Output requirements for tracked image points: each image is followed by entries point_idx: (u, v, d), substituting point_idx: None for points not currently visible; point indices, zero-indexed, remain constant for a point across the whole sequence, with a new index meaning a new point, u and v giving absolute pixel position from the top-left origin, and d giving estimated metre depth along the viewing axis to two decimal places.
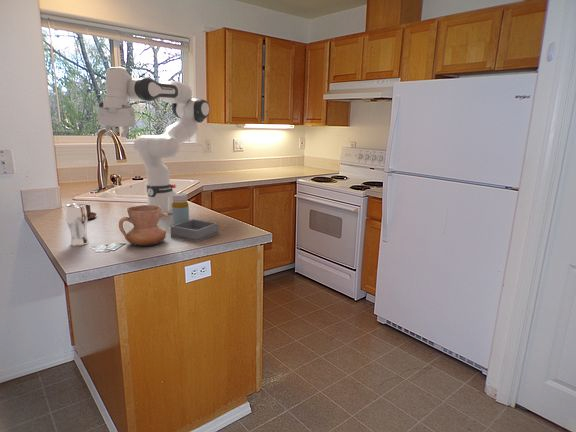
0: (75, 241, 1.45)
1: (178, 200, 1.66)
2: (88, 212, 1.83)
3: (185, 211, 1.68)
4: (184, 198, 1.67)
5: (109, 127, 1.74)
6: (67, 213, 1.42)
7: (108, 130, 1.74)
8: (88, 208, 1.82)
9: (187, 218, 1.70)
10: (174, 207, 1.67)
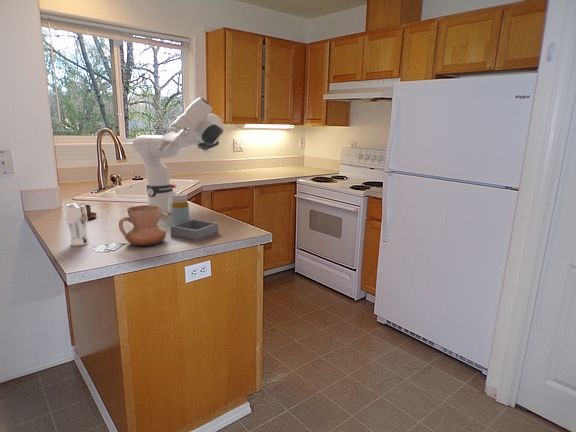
0: (75, 241, 1.45)
1: (178, 200, 1.66)
2: (88, 212, 1.83)
3: (185, 211, 1.68)
4: (184, 198, 1.67)
5: (165, 144, 1.70)
6: (67, 213, 1.42)
7: (162, 146, 1.70)
8: (88, 208, 1.82)
9: (187, 218, 1.70)
10: (174, 207, 1.67)
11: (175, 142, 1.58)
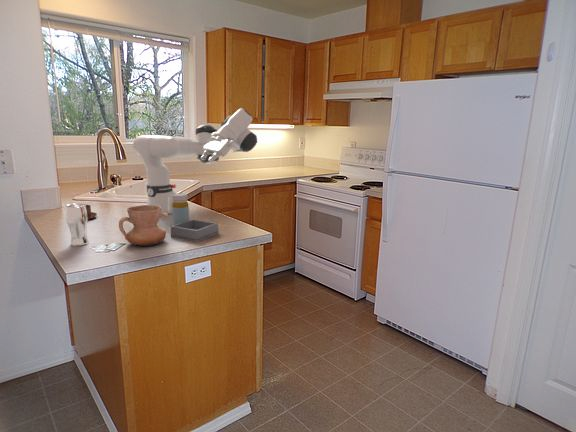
0: (75, 241, 1.45)
1: (178, 200, 1.66)
2: (88, 212, 1.83)
3: (185, 211, 1.68)
4: (184, 198, 1.67)
5: (207, 153, 1.77)
6: (67, 213, 1.42)
7: (205, 154, 1.76)
8: (88, 208, 1.82)
9: (187, 218, 1.70)
10: (174, 207, 1.67)
11: (220, 152, 1.64)
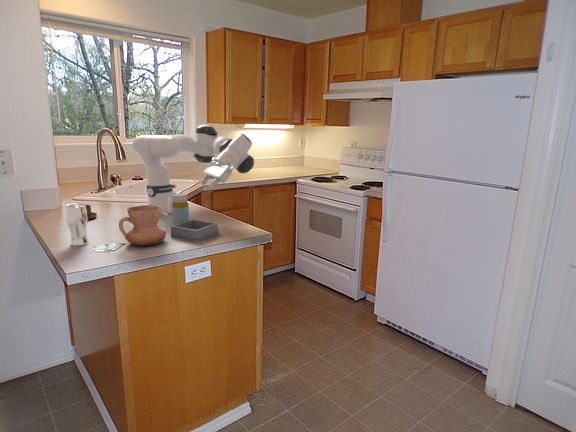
0: (75, 241, 1.45)
1: (178, 200, 1.66)
2: (89, 212, 1.83)
3: (185, 211, 1.68)
4: (184, 198, 1.67)
5: (208, 178, 1.79)
6: (67, 213, 1.42)
7: (205, 179, 1.79)
8: (89, 208, 1.82)
9: (187, 218, 1.70)
10: (174, 207, 1.67)
11: (220, 178, 1.66)
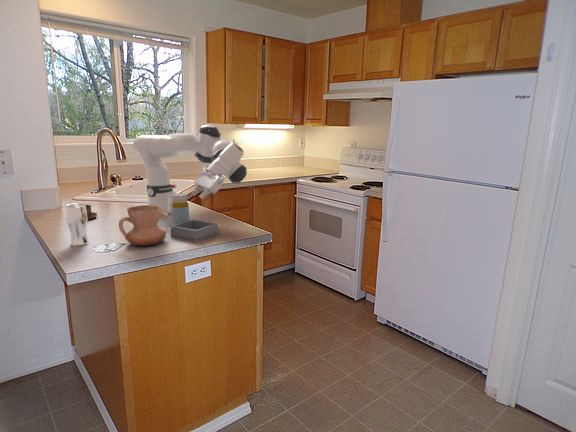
0: (75, 241, 1.45)
1: (178, 200, 1.66)
2: (89, 212, 1.83)
3: (185, 211, 1.68)
4: (184, 198, 1.67)
5: (199, 188, 1.77)
6: (67, 213, 1.42)
7: (196, 189, 1.76)
8: (89, 208, 1.82)
9: (187, 218, 1.70)
10: (174, 207, 1.67)
11: (211, 189, 1.64)
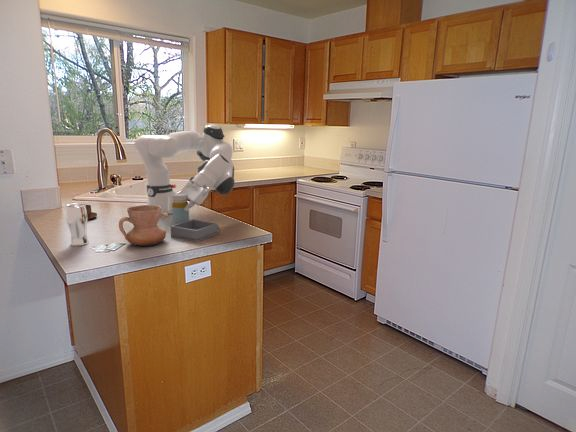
0: (75, 241, 1.45)
1: (178, 200, 1.66)
2: (89, 212, 1.83)
3: (185, 211, 1.68)
4: (184, 198, 1.67)
5: None
6: (67, 213, 1.42)
7: None
8: (89, 208, 1.82)
9: (187, 218, 1.70)
10: (174, 207, 1.67)
11: (195, 201, 1.62)
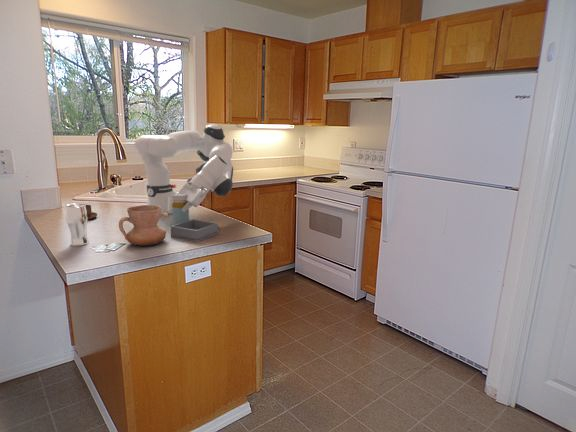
0: (75, 241, 1.45)
1: (178, 200, 1.66)
2: (89, 212, 1.83)
3: (185, 211, 1.68)
4: (184, 198, 1.67)
5: None
6: (67, 213, 1.42)
7: None
8: (89, 208, 1.82)
9: (187, 218, 1.70)
10: (174, 207, 1.67)
11: (193, 203, 1.62)
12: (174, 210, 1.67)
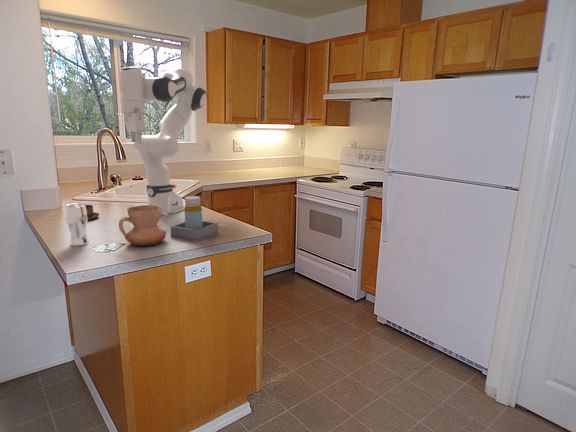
0: (75, 241, 1.45)
1: (191, 203, 1.55)
2: (91, 212, 1.83)
3: (198, 215, 1.56)
4: (197, 201, 1.56)
5: (134, 132, 1.64)
6: (67, 213, 1.42)
7: (133, 135, 1.64)
8: (91, 208, 1.82)
9: (200, 223, 1.58)
10: (187, 211, 1.55)
11: (138, 130, 1.50)
12: (187, 214, 1.56)
